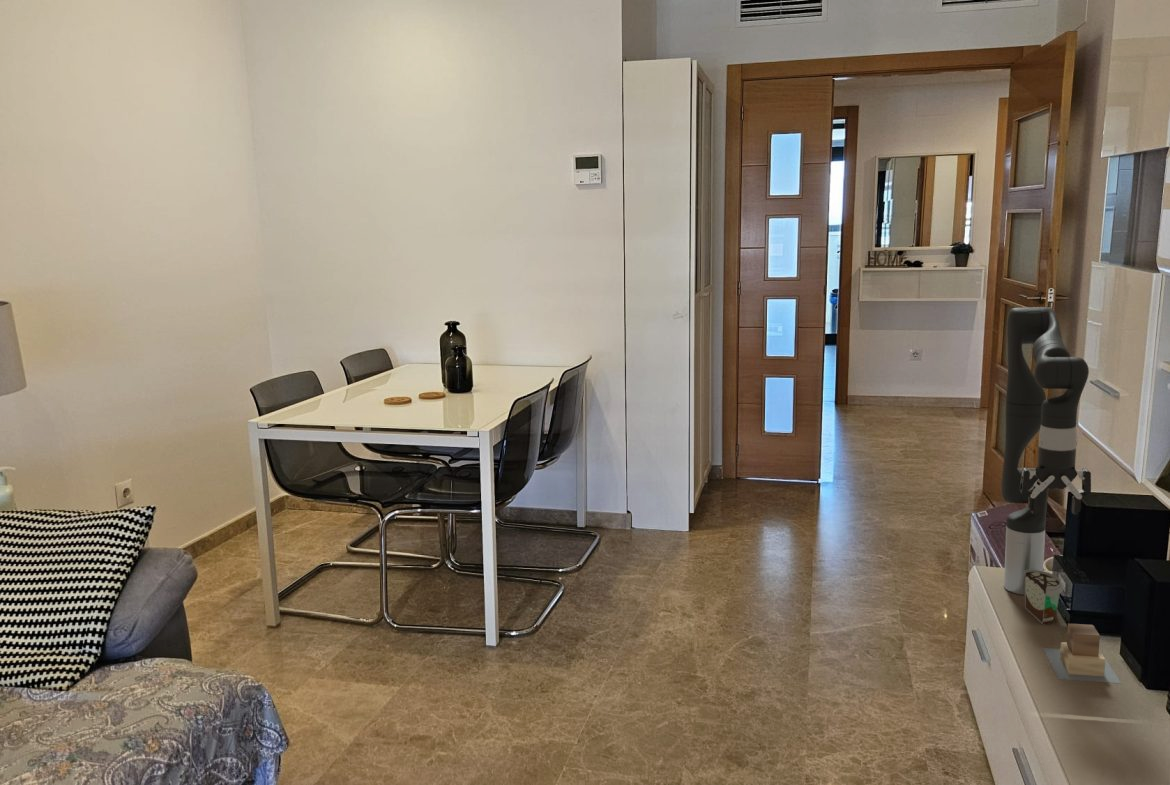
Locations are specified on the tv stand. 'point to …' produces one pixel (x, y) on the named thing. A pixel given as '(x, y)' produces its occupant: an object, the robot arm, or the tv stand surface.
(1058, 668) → the build board
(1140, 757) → the tv stand surface
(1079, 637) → the walnut cube
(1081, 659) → the oak base block
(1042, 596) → the food container
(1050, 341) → the robot arm
